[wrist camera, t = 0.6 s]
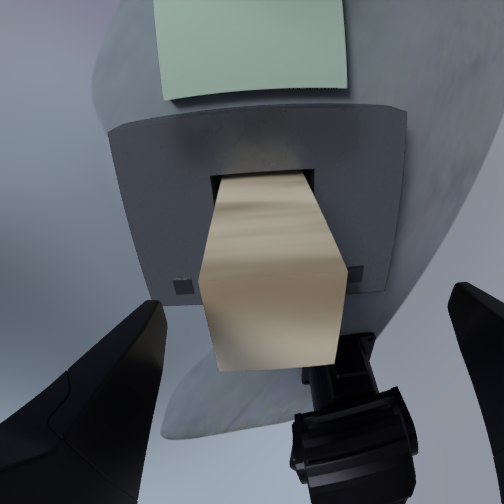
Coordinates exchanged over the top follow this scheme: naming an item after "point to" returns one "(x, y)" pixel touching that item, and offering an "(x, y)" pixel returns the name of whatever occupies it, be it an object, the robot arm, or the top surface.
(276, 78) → the pad
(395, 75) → the top surface
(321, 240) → the peg
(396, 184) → the plate
